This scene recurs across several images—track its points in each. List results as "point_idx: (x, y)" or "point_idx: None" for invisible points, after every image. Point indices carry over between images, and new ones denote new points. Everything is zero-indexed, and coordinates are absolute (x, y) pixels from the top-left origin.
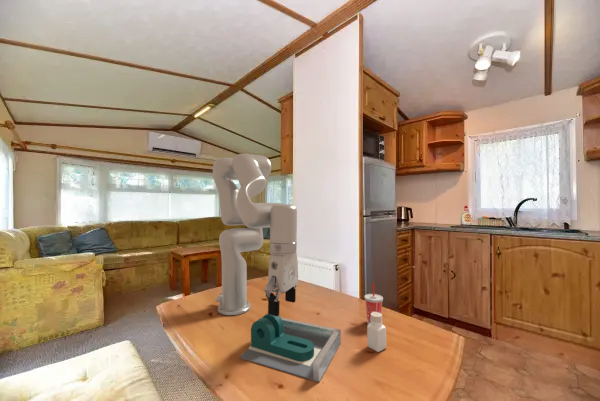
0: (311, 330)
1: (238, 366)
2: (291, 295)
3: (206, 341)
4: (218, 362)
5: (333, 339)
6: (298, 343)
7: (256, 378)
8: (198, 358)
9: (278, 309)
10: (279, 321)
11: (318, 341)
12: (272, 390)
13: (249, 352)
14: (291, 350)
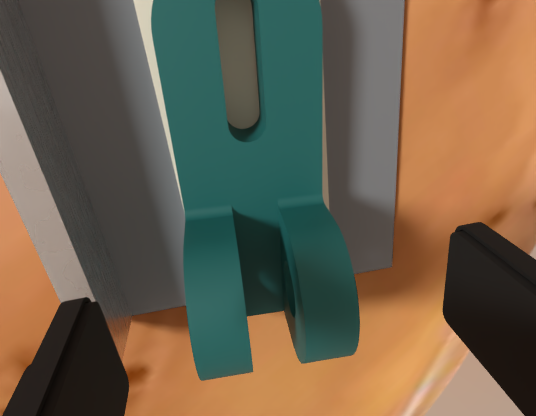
0: (20, 79)
1: (435, 227)
2: (87, 392)
3: (352, 411)
4: (439, 296)
5: None
6: (221, 71)
7: (477, 117)
8: (442, 355)
9: (529, 255)
10: (217, 270)
11: (38, 3)
12: (526, 3)
13: (350, 256)
14: (321, 59)
